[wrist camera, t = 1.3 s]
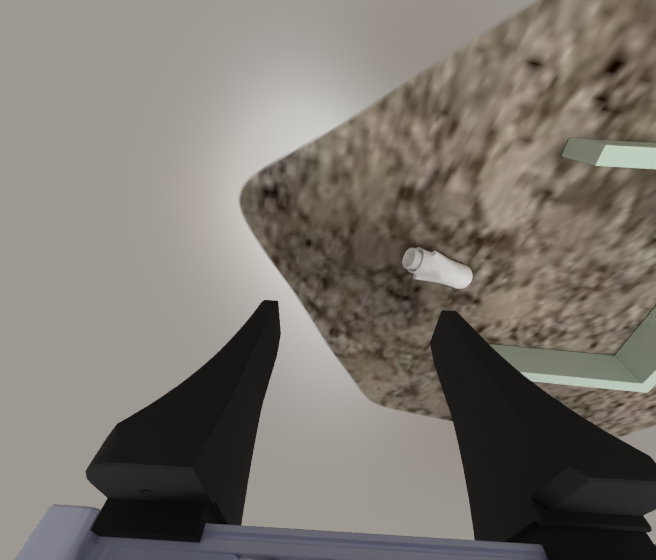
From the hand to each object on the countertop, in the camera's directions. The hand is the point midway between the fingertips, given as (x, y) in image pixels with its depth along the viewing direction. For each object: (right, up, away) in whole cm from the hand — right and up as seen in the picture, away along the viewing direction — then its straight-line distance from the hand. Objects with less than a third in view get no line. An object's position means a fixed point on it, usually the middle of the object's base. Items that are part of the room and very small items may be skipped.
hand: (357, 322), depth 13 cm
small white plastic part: (+7, +3, +10) cm, 13 cm away
